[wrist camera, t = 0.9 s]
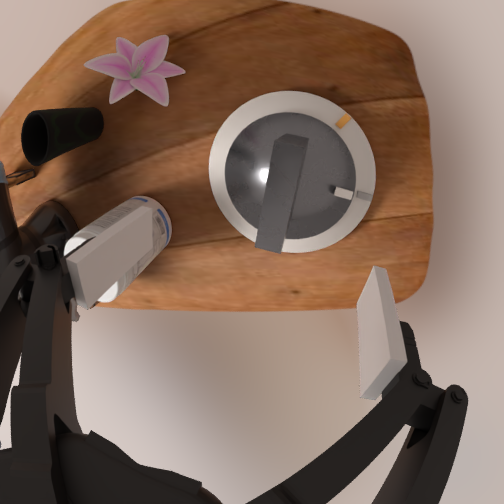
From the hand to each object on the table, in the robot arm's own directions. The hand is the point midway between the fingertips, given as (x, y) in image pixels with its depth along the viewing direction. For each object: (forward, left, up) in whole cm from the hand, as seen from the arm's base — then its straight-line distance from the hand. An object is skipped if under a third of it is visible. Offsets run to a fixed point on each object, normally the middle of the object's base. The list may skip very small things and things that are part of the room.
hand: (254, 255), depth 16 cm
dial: (0, 0, -19) cm, 19 cm away
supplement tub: (-20, -12, -21) cm, 32 cm away
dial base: (0, 0, -21) cm, 21 cm away
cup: (-32, +3, -21) cm, 39 cm away
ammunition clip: (-56, -8, -21) cm, 61 cm away
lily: (-20, +11, -21) cm, 31 cm away
